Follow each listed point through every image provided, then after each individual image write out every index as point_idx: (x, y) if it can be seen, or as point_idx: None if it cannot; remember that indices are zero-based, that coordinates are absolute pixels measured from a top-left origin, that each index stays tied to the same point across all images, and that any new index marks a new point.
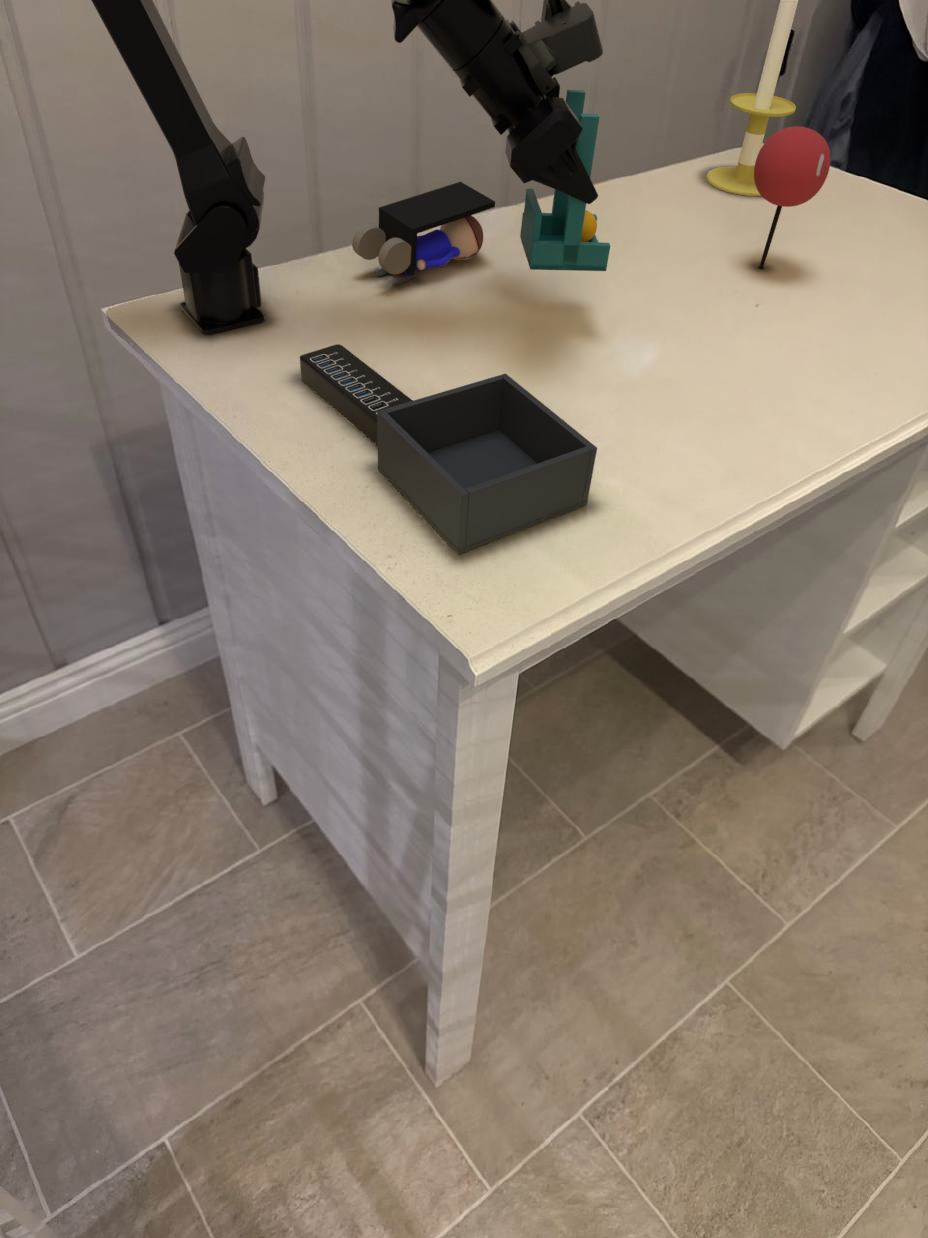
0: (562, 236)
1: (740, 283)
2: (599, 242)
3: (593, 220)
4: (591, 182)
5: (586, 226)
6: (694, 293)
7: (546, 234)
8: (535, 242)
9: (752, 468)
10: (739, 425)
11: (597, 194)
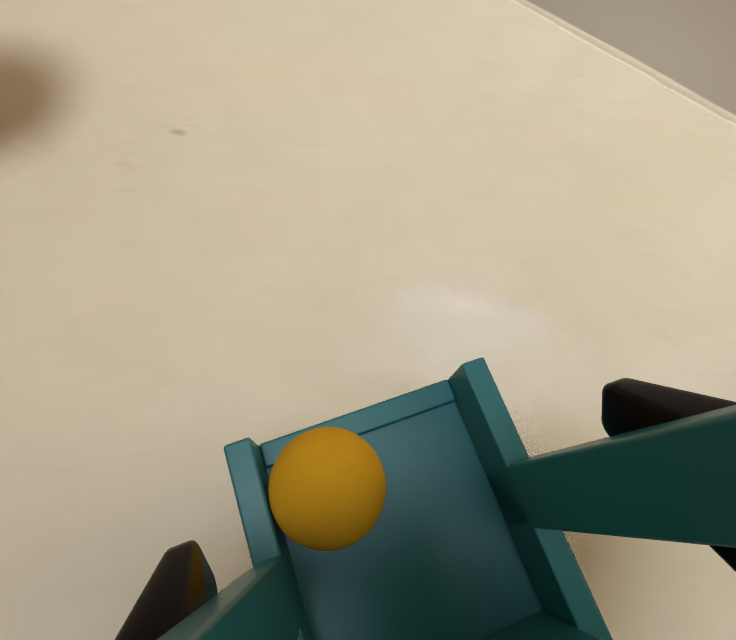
0: (303, 559)
1: (79, 156)
2: (479, 394)
3: (343, 438)
4: (727, 402)
5: (377, 460)
6: (150, 236)
7: (310, 627)
8: (599, 637)
9: (700, 149)
10: (604, 163)
11: (630, 380)
